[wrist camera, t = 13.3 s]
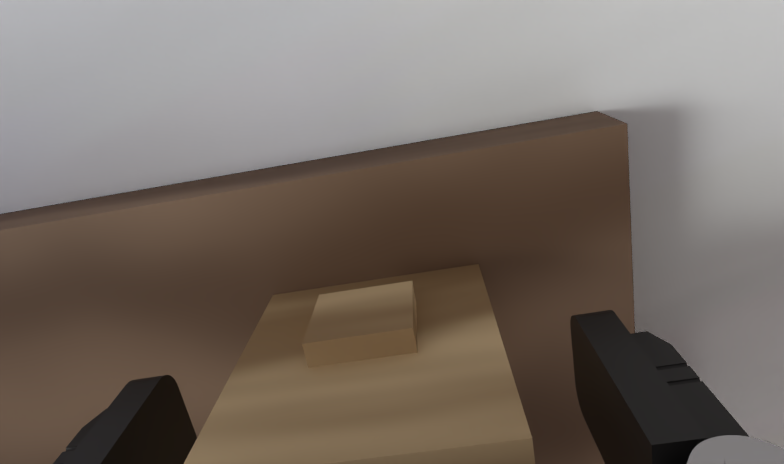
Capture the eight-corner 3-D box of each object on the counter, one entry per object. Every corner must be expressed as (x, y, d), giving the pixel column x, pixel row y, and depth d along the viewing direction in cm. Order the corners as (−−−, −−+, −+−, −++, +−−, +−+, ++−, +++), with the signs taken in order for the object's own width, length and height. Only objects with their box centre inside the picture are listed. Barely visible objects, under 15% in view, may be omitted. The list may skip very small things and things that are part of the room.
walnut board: (-261, 259, 16) (-357, 291, 14) (596, 111, 14) (628, 124, 12) (-23, 643, 21) (-68, 706, 19) (622, 578, 19) (646, 640, 17)
